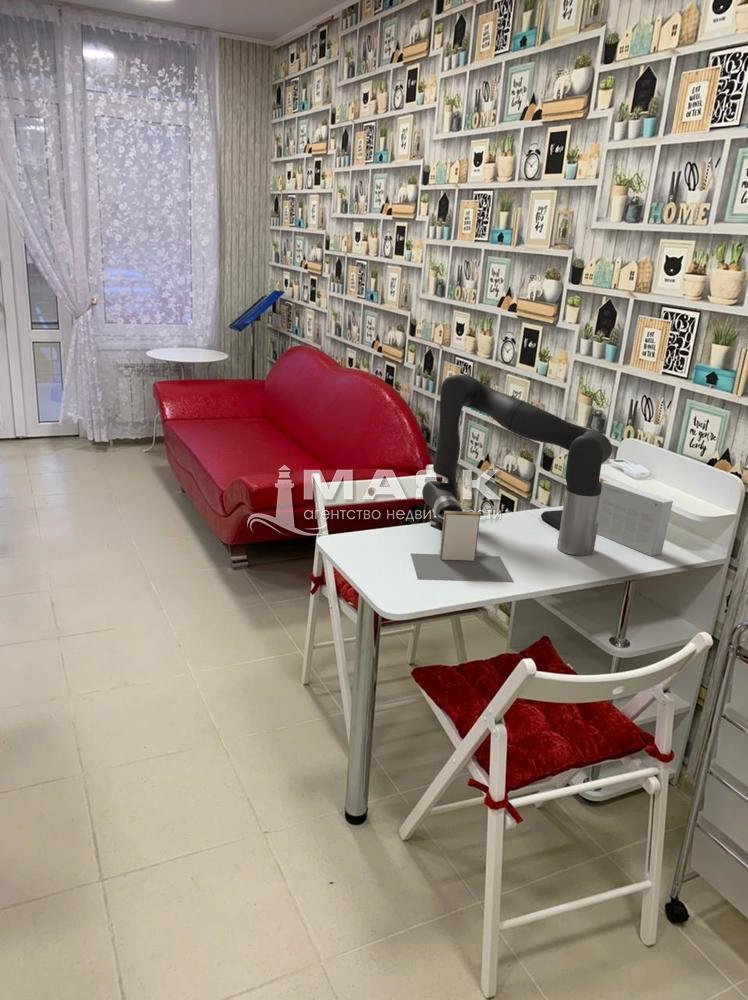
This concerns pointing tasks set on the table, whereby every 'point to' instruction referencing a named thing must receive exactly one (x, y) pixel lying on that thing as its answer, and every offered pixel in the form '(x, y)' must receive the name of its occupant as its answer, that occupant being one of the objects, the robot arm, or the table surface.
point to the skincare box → (633, 517)
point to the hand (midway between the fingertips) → (458, 534)
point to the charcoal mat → (460, 569)
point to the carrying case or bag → (552, 518)
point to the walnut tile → (459, 535)
